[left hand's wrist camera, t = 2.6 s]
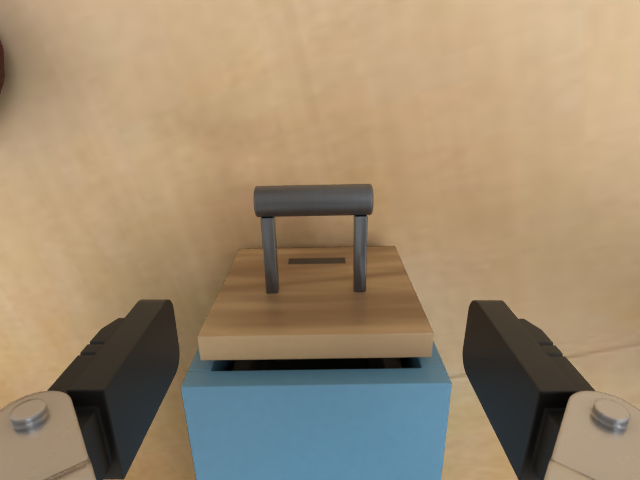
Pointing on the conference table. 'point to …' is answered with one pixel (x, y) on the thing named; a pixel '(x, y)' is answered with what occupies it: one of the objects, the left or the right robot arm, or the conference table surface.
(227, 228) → the conference table surface
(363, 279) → the drawer
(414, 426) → the cabinet
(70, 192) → the conference table surface
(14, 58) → the conference table surface
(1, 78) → the potato
